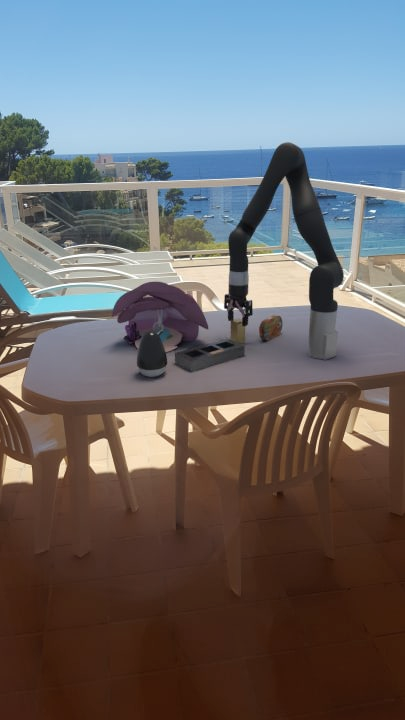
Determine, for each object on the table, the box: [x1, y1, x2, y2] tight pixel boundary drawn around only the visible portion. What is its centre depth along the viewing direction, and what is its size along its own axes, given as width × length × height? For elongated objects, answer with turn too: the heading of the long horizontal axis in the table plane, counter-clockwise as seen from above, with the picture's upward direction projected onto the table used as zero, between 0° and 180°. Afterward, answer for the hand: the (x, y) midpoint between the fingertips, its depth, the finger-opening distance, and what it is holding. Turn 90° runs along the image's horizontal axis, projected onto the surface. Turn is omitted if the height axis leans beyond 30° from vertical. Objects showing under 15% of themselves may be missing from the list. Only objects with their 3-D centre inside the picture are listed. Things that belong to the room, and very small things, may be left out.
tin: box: [258, 314, 283, 342], centre depth 199 cm, size 15×3×8 cm, turn 143°
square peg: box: [230, 318, 246, 344], centre depth 194 cm, size 4×4×9 cm
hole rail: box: [174, 338, 246, 373], centre depth 177 cm, size 24×10×4 cm, turn 127°
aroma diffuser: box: [136, 330, 168, 378], centre depth 164 cm, size 10×10×15 cm
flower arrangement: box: [111, 281, 209, 353], centre depth 190 cm, size 35×24×28 cm
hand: (237, 323), depth 193 cm, fingers open, 8 cm apart
